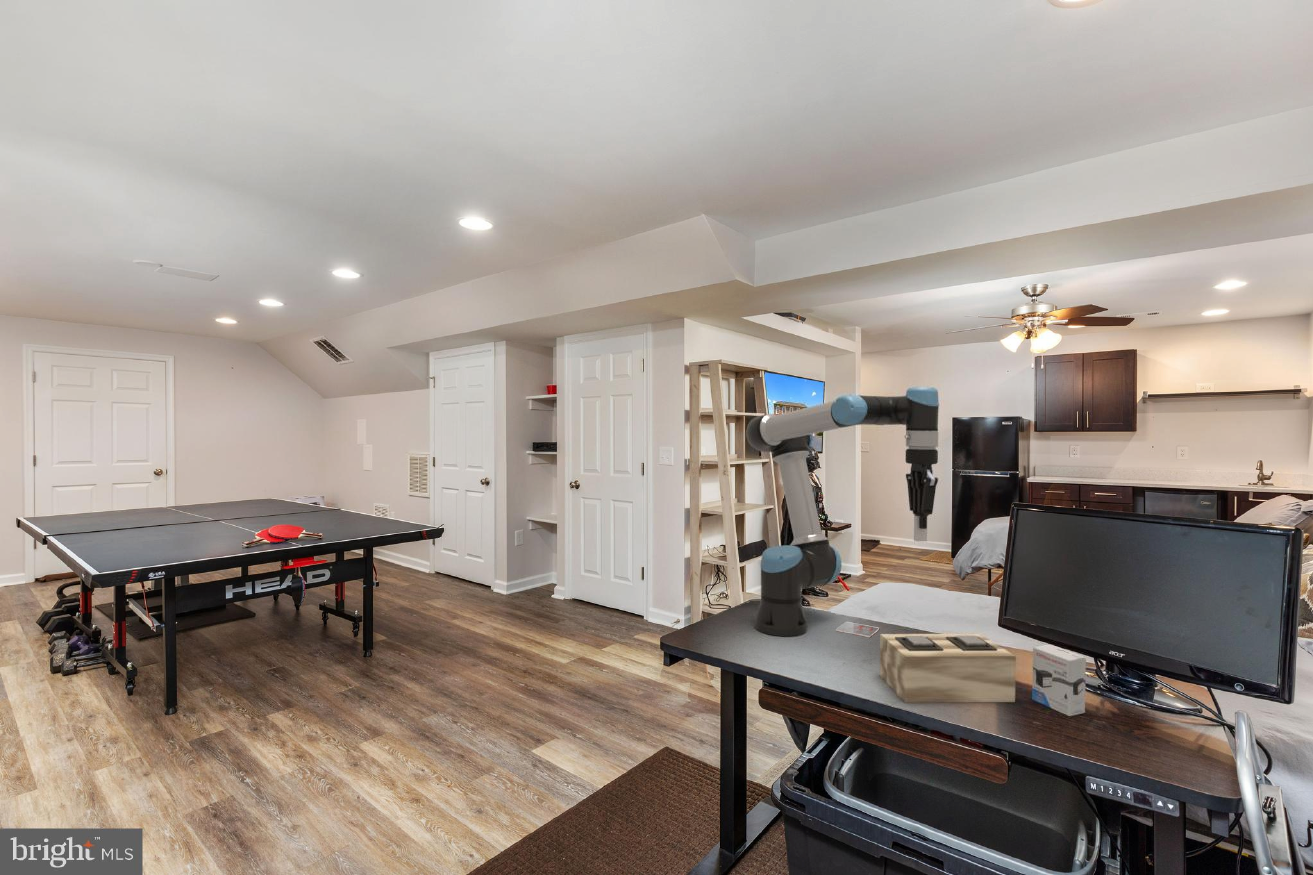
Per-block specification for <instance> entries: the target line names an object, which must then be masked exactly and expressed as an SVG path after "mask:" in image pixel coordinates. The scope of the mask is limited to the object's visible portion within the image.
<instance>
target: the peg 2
mask: <svg viewBox="0 0 1313 875" xmlns="http://www.w3.org/2000/svg"><path fill="white" fill-rule="evenodd" d="M956 641H957V642H958V643H960V644H961V645H963V646H964V647H986V642H984V641H982V640H981V639H979V638H978V637H976V636H956Z"/></svg>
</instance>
